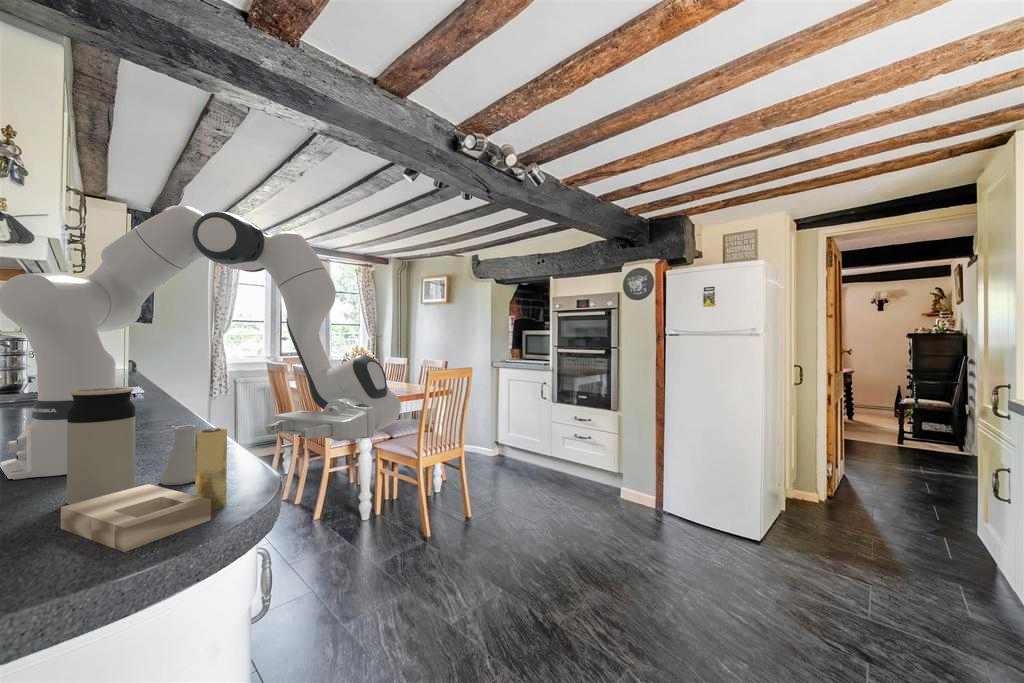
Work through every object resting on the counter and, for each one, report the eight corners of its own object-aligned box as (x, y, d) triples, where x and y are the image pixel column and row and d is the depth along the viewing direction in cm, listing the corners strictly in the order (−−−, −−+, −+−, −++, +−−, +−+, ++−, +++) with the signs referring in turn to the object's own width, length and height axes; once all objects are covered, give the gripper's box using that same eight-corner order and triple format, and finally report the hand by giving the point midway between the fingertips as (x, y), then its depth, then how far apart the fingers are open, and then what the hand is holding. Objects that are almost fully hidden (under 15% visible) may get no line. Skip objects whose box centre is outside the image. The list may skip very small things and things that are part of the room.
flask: (181, 488, 73) (181, 431, 73) (148, 485, 74) (149, 429, 74) (218, 475, 80) (218, 424, 80) (187, 472, 81) (188, 422, 81)
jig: (60, 528, 57) (60, 506, 57) (148, 502, 66) (148, 484, 66) (124, 552, 50) (124, 527, 50) (210, 519, 60) (210, 499, 60)
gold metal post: (189, 509, 63) (189, 431, 63) (216, 500, 67) (216, 426, 67) (205, 514, 62) (205, 433, 62) (232, 504, 65) (232, 428, 65)
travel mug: (137, 497, 68) (138, 389, 68) (66, 511, 62) (67, 393, 62) (131, 485, 74) (132, 385, 74) (66, 498, 68) (67, 389, 68)
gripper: (308, 402, 93) (248, 412, 80) (379, 407, 85) (325, 419, 72) (308, 429, 93) (248, 444, 80) (379, 437, 85) (325, 454, 72)
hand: (285, 432), depth 76 cm, fingers open, 8 cm apart
